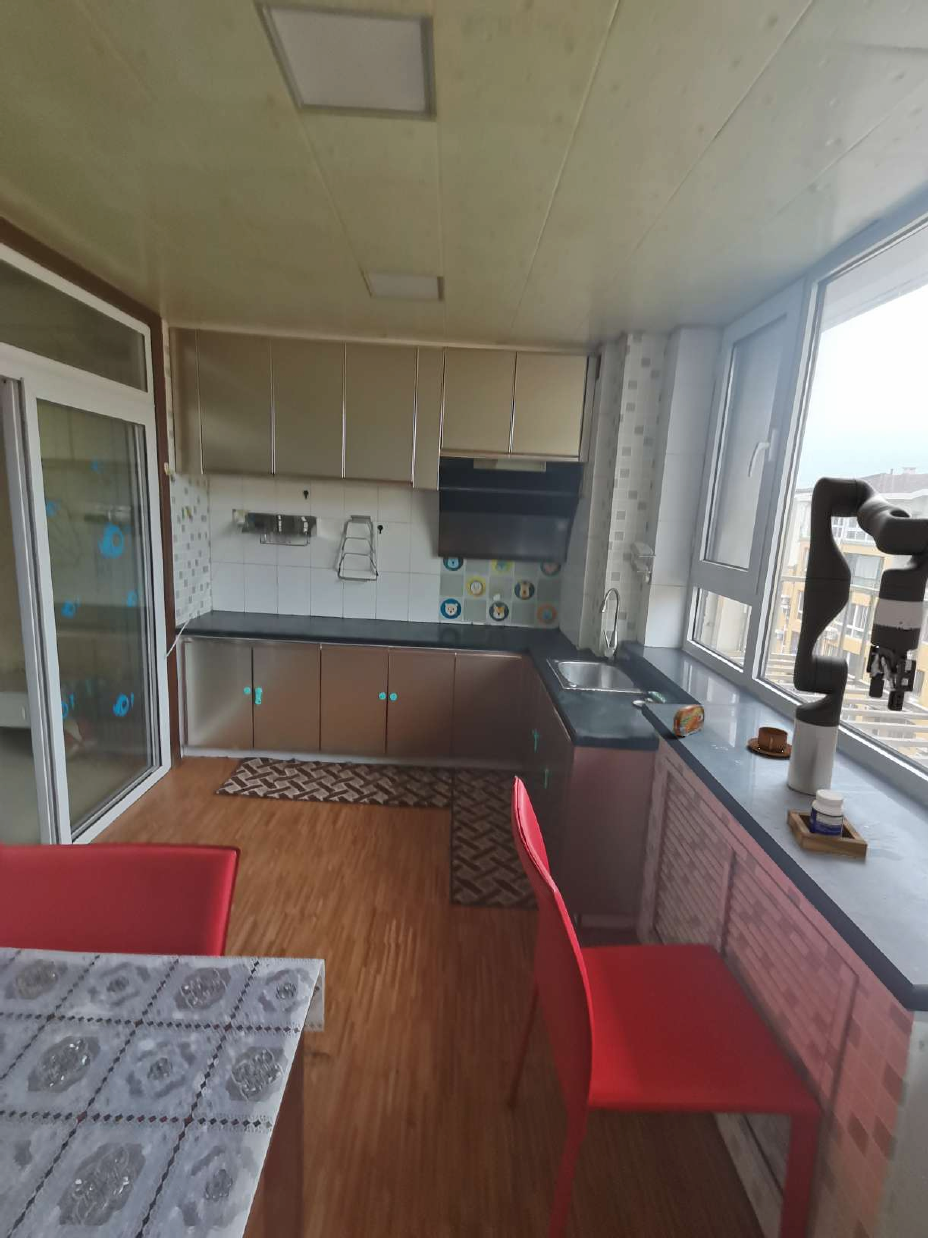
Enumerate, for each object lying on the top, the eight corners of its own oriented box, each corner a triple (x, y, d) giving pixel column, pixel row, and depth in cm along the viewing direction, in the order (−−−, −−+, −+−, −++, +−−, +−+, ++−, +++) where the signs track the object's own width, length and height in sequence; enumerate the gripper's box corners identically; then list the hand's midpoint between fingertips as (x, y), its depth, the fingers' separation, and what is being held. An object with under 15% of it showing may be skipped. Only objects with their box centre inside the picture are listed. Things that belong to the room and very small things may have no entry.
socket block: (786, 823, 127) (788, 810, 127) (843, 830, 125) (845, 817, 124) (803, 850, 117) (805, 836, 116) (865, 858, 114) (867, 844, 114)
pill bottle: (810, 829, 125) (816, 785, 123) (842, 839, 121) (848, 794, 120) (805, 840, 121) (811, 794, 119) (837, 850, 117) (844, 803, 115)
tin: (679, 740, 175) (682, 712, 174) (670, 737, 178) (672, 710, 176) (704, 729, 185) (706, 703, 184) (694, 726, 187) (697, 701, 186)
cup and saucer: (800, 762, 161) (803, 741, 160) (753, 757, 164) (756, 736, 163) (786, 746, 173) (789, 726, 172) (742, 742, 175) (745, 722, 174)
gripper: (860, 615, 121) (849, 691, 124) (891, 628, 108) (878, 713, 110) (901, 618, 119) (889, 695, 122) (939, 630, 106) (924, 717, 109)
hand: (884, 703), depth 116 cm, fingers open, 8 cm apart
